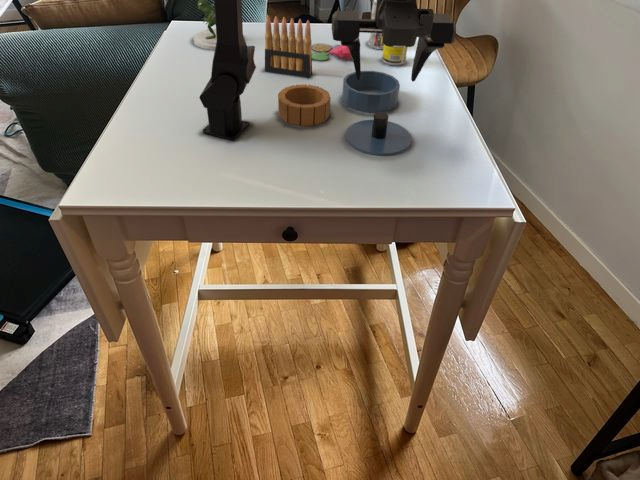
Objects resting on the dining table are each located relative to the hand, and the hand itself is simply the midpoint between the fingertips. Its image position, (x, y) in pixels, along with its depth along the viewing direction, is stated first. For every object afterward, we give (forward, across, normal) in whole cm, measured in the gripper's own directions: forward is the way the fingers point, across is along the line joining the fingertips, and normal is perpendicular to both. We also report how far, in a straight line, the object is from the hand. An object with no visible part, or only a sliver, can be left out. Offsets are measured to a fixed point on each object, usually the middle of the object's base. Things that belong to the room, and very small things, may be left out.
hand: (385, 80), depth 81 cm
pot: (+12, 0, +15) cm, 19 cm away
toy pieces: (+12, -6, +41) cm, 43 cm away
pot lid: (+11, 0, 0) cm, 11 cm away
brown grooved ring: (+12, -14, +9) cm, 20 cm away
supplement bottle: (+12, +8, +37) cm, 39 cm away
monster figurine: (+12, -35, +48) cm, 60 cm away
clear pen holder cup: (+12, +6, +47) cm, 49 cm away
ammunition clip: (+12, -17, +29) cm, 35 cm away
